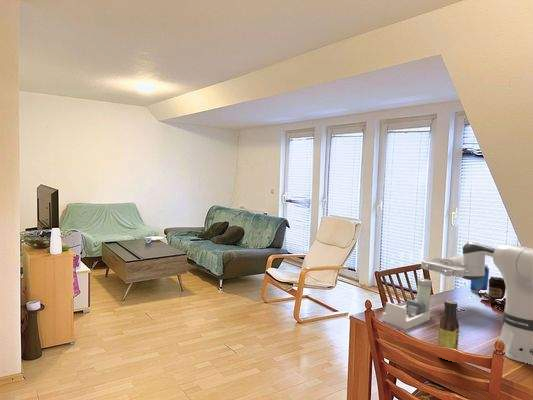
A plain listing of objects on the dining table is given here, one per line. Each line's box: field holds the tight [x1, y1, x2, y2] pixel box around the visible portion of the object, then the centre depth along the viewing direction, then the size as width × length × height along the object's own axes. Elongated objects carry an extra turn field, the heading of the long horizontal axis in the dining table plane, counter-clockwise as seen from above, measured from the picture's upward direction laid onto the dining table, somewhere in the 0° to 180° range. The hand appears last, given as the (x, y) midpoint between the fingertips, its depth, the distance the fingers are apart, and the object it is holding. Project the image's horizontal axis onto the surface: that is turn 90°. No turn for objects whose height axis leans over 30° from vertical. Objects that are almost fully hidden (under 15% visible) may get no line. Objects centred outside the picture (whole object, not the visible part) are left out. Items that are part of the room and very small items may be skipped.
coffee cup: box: [488, 276, 506, 304], centre depth 201 cm, size 9×8×13 cm
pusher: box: [405, 299, 426, 315], centre depth 173 cm, size 8×4×6 cm, turn 41°
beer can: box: [469, 263, 490, 295], centre depth 219 cm, size 8×8×16 cm
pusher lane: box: [381, 301, 431, 331], centre depth 169 cm, size 11×20×8 cm, turn 131°
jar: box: [415, 278, 433, 312], centre depth 178 cm, size 6×6×16 cm
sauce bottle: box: [437, 299, 460, 351], centre depth 135 cm, size 7×6×20 cm
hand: (435, 270), depth 186 cm, fingers open, 8 cm apart
